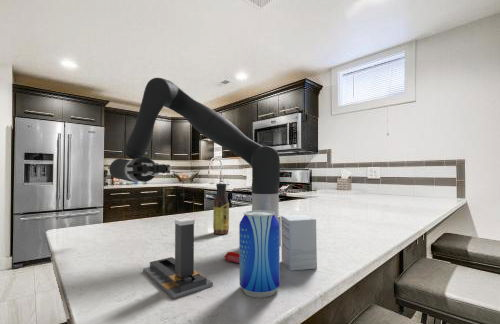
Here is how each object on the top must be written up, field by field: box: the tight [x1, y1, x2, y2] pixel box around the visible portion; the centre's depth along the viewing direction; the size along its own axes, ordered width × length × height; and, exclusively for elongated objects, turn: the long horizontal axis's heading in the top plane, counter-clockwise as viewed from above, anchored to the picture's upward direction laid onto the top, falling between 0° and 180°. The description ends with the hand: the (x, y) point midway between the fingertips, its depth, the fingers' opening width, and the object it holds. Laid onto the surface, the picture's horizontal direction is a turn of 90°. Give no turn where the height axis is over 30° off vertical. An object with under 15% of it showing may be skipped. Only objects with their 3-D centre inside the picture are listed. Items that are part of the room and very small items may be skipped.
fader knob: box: [174, 217, 196, 282], centre depth 57 cm, size 4×3×13 cm
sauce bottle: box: [212, 183, 230, 235], centre depth 104 cm, size 7×6×20 cm
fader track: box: [142, 256, 214, 300], centre depth 60 cm, size 18×9×2 cm, turn 40°
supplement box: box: [280, 214, 318, 272], centre depth 68 cm, size 7×7×13 cm
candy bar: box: [223, 251, 240, 264], centre depth 69 cm, size 16×4×3 cm, turn 62°
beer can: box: [238, 210, 281, 298], centre depth 54 cm, size 8×8×16 cm
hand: (161, 168), depth 68 cm, fingers closed
